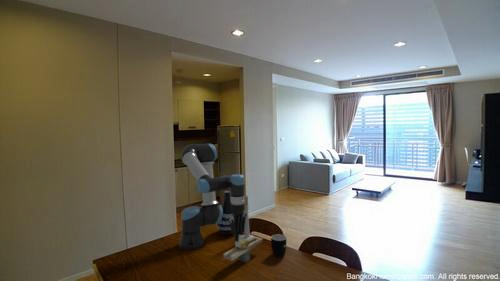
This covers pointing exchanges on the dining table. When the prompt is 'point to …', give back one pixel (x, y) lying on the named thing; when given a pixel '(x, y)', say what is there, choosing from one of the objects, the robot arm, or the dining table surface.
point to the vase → (225, 215)
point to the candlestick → (246, 222)
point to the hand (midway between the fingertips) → (238, 246)
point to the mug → (278, 245)
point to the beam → (242, 250)
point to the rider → (243, 244)
